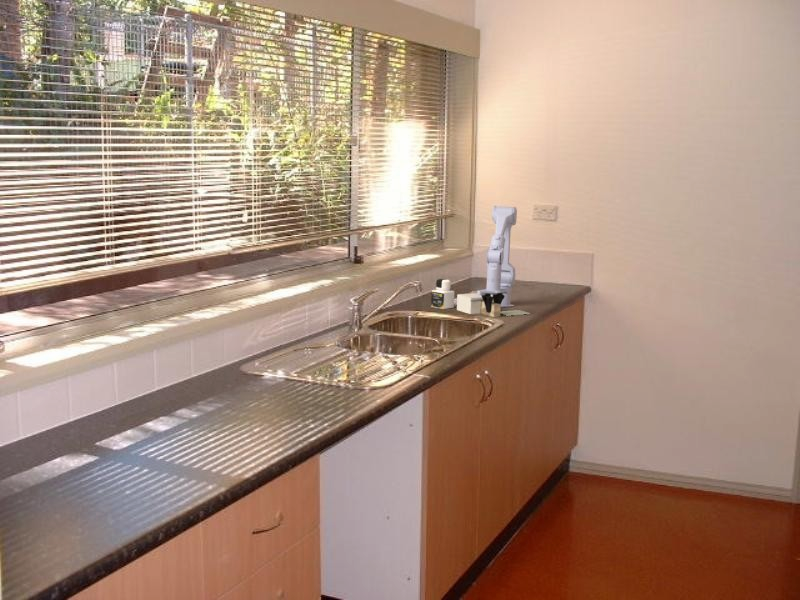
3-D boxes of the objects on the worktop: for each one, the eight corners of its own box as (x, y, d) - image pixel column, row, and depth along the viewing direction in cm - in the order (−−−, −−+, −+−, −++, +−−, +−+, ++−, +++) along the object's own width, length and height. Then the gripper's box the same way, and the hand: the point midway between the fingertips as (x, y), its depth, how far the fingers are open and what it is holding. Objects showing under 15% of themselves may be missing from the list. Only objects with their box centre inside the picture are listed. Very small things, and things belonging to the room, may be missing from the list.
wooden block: (479, 312, 394) (480, 301, 393) (485, 312, 395) (486, 300, 394) (493, 317, 385) (494, 304, 384) (500, 316, 387) (500, 304, 386)
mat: (495, 312, 395) (495, 311, 395) (518, 310, 401) (518, 309, 401) (507, 316, 389) (507, 315, 388) (530, 314, 395) (530, 313, 395)
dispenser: (456, 310, 398) (457, 294, 397) (483, 308, 406) (484, 292, 404) (470, 314, 390) (471, 298, 389) (498, 312, 397) (499, 296, 396)
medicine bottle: (430, 306, 404) (431, 279, 402) (441, 305, 409) (442, 277, 407) (443, 309, 399) (444, 281, 397) (454, 307, 404) (455, 279, 402)
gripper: (485, 281, 379) (483, 314, 382) (514, 279, 387) (512, 312, 389) (474, 278, 385) (473, 311, 388) (503, 277, 393) (502, 309, 395)
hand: (492, 311), depth 389 cm, fingers closed on wooden block, 3 cm apart
